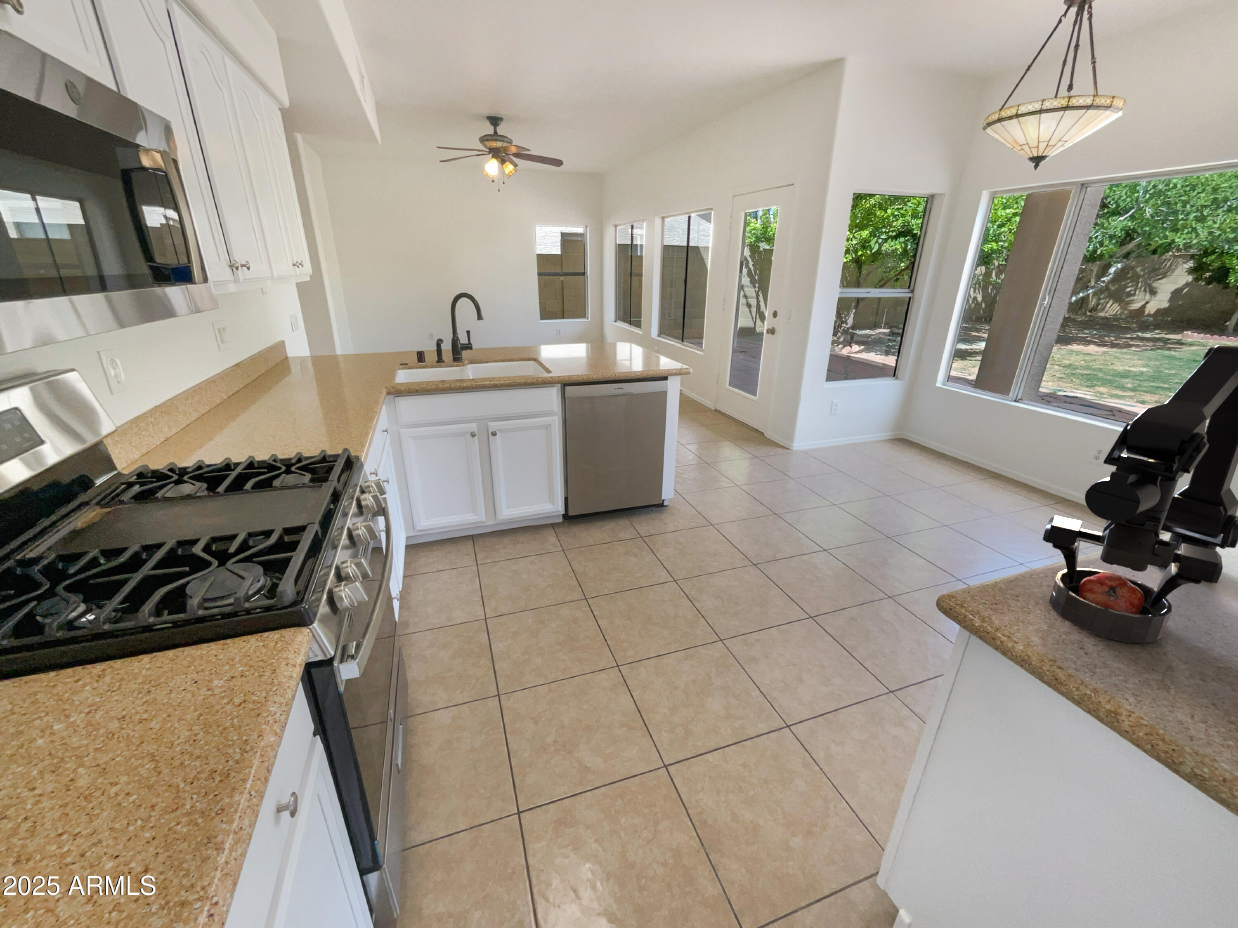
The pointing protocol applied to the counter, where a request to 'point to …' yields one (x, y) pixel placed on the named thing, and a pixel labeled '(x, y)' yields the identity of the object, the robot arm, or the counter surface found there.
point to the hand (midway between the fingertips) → (1109, 594)
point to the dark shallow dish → (1109, 611)
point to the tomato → (1112, 593)
